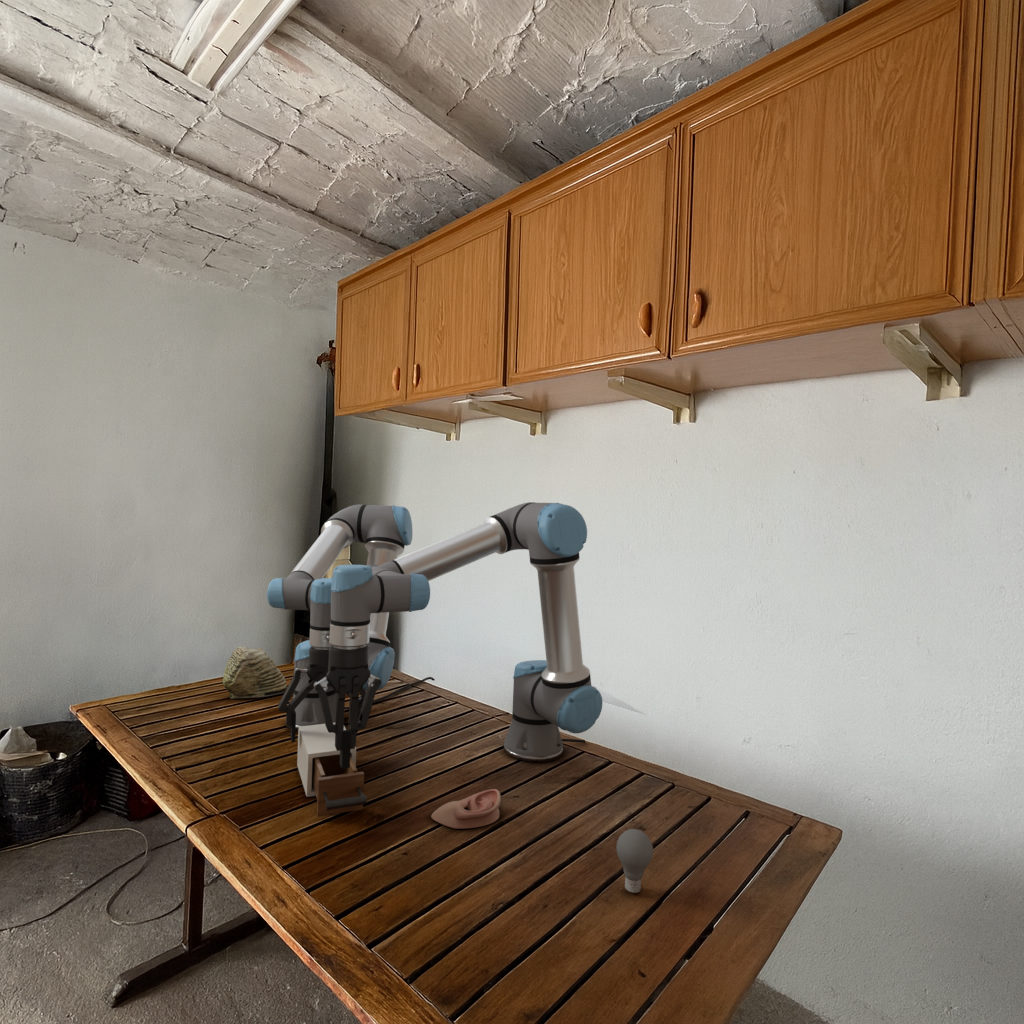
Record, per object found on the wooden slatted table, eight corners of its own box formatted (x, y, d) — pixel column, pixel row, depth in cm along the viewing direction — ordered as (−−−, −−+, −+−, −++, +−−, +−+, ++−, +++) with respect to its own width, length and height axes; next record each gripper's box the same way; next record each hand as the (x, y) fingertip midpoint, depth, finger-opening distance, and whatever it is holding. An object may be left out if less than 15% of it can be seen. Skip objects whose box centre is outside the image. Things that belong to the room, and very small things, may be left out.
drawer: (369, 823, 122) (371, 786, 122) (322, 832, 118) (323, 793, 118) (348, 776, 142) (349, 744, 141) (306, 782, 138) (308, 749, 138)
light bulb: (610, 879, 108) (613, 822, 108) (644, 879, 109) (647, 822, 109) (619, 902, 102) (622, 840, 102) (655, 901, 103) (658, 840, 103)
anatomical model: (426, 804, 124) (444, 779, 135) (425, 824, 124) (443, 798, 135) (492, 814, 121) (505, 787, 132) (491, 834, 121) (504, 806, 133)
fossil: (218, 695, 195) (220, 647, 195) (278, 685, 208) (279, 640, 207) (228, 703, 189) (230, 653, 188) (289, 692, 201) (290, 645, 201)
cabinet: (354, 789, 138) (356, 748, 137) (306, 797, 133) (308, 754, 133) (340, 759, 153) (342, 721, 153) (297, 765, 149) (298, 726, 149)
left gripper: (270, 653, 138) (267, 749, 139) (383, 646, 149) (380, 735, 149) (267, 645, 145) (265, 736, 146) (376, 638, 155) (373, 723, 156)
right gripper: (317, 651, 117) (312, 778, 117) (387, 647, 122) (382, 768, 123) (311, 642, 123) (307, 762, 124) (378, 638, 129) (373, 753, 129)
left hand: (323, 736), depth 148 cm, fingers open, 13 cm apart
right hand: (344, 765), depth 123 cm, fingers closed
